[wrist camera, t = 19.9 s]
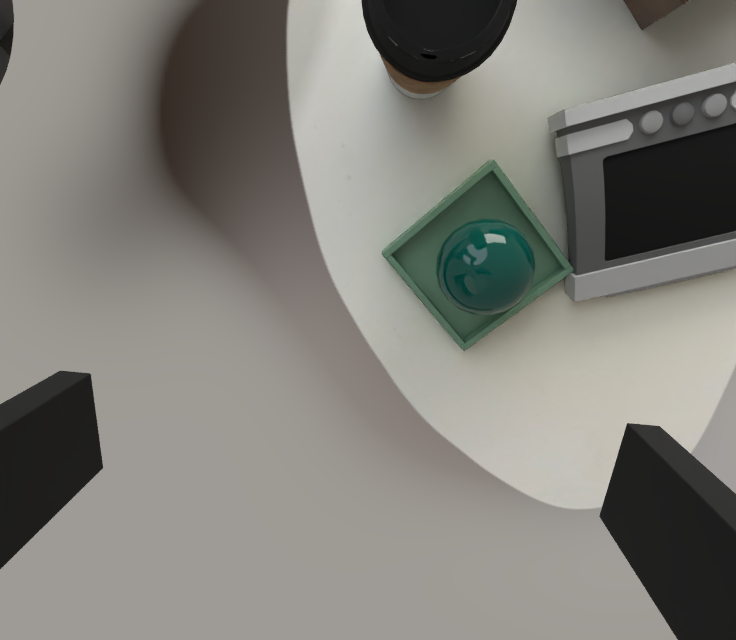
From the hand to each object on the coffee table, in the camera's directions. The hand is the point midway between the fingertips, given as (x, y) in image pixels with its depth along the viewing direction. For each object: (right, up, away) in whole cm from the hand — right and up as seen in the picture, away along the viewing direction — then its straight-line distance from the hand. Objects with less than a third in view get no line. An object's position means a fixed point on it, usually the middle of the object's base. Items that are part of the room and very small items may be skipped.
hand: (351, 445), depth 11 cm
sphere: (+10, +9, +29) cm, 32 cm away
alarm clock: (+25, +15, +26) cm, 39 cm away
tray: (+10, +9, +29) cm, 32 cm away
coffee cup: (+5, +25, +24) cm, 35 cm away
